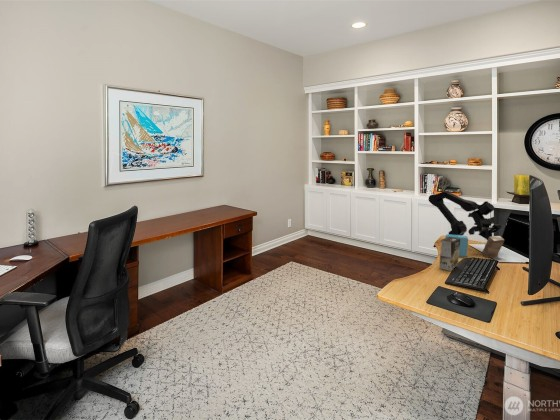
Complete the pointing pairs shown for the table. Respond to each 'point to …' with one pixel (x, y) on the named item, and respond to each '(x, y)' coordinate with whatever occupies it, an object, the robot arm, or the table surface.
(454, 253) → the coffee box
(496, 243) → the walnut block
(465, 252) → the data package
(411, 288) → the table surface
